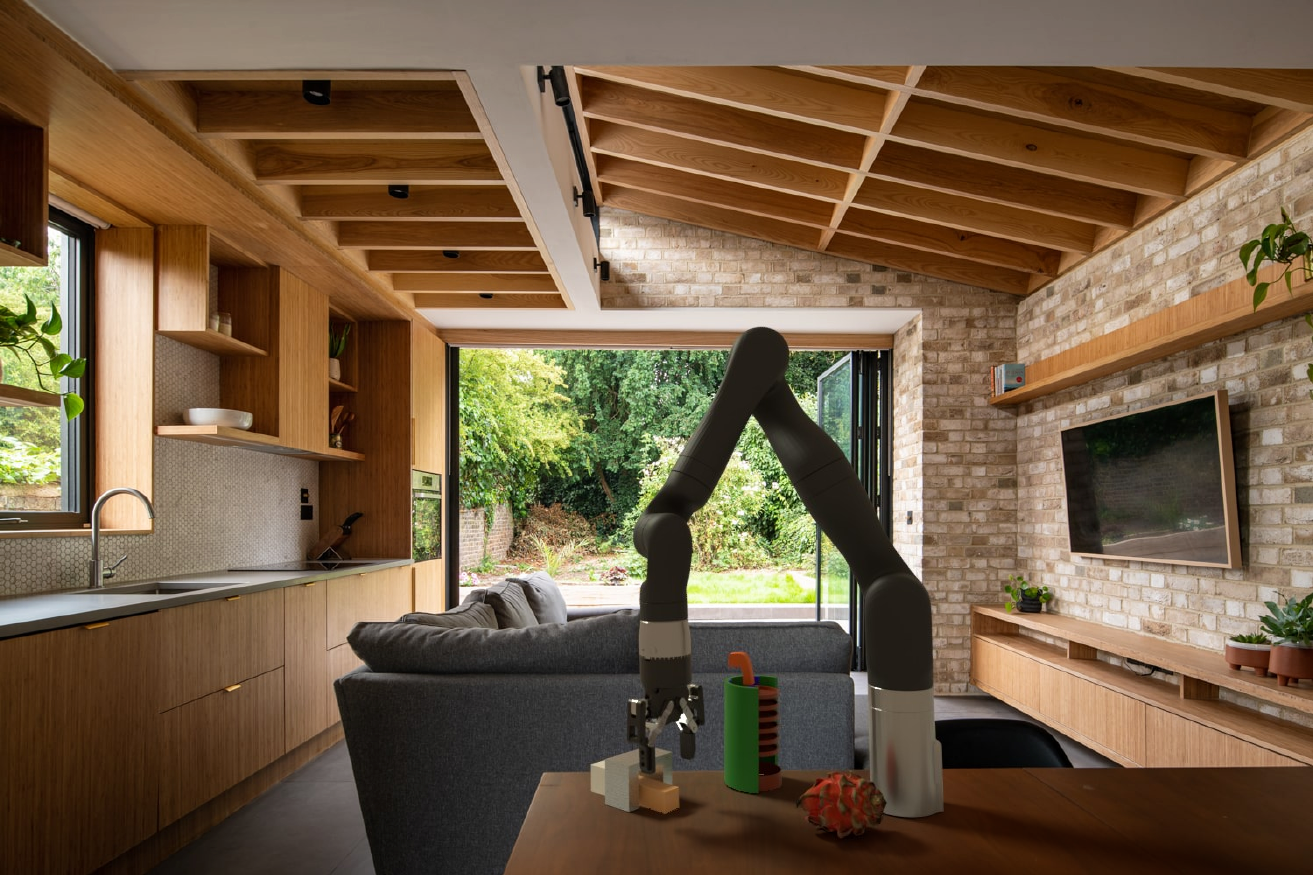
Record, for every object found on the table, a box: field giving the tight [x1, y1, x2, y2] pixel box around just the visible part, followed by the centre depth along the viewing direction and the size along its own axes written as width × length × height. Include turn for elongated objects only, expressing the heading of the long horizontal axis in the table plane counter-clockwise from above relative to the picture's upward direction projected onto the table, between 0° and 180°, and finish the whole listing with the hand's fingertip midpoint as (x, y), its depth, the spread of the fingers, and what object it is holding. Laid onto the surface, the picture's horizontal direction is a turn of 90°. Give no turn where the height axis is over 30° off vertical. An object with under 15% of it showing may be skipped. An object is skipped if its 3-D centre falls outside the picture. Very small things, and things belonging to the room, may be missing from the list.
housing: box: [604, 747, 673, 813], centre depth 127 cm, size 5×9×6 cm, turn 137°
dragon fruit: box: [794, 770, 887, 839], centre depth 114 cm, size 8×8×12 cm
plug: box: [590, 759, 680, 815], centre depth 127 cm, size 15×4×4 cm, turn 47°
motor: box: [723, 651, 783, 794], centre depth 134 cm, size 10×9×20 cm
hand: (668, 765), depth 122 cm, fingers open, 8 cm apart
